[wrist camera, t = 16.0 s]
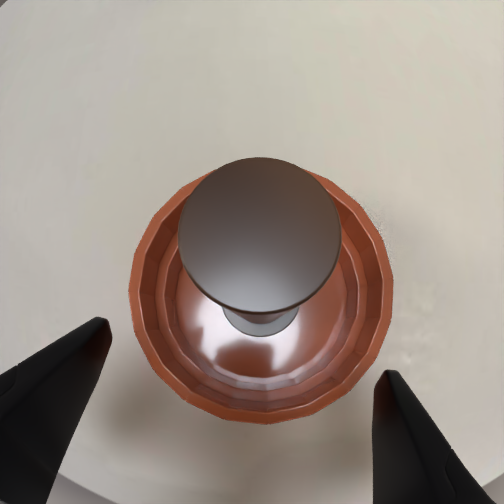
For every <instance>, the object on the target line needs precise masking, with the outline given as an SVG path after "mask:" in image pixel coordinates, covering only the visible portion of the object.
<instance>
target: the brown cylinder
mask: <svg viewBox="0 0 504 504" xmlns="http://www.w3.org/2000/svg"><path fill="white" fill-rule="evenodd" d="M341 243H342V229H341V223H340V218H339V214H338V211H337V208H336V206H335V204H334V202H333V200H332V198H331V197H330V195H329V194H328V192H327V191H326V189H325V188H324V187H323V186H322V185H321V183H320V182H319V181H318V180H317V179H315V178H314V177H313V176H312V175H311V174H309V173H308V172H306V171H305V170H303V169H302V168H300V167H298V166H296V165H294V164H291V163H289V162H286V161H282V160H278V159H273V158H263V157H255V158H246V159H241V160H237V161H234V162H231V163H228V164H226V165H224V166H222V167H220V168H218V169H216V170H215V171H213V172H212V173H210V174H209V175H208V176H206V177H205V178H204V179H203V180H202V181H201V182H200V183H199V184H198V185H197V186H196V187H195V189H194V190H193V191H192V193H191V194H190V196H189V197H188V199H187V201H186V203H185V205H184V207H183V210H182V213H181V216H180V220H179V225H178V248H179V253H180V257H181V260H182V263H183V266H184V268H185V270H186V272H187V274H188V276H189V277H190V279H191V280H192V282H193V283H194V285H195V286H196V287H197V288H198V289H199V290H200V291H201V292H202V293H203V294H204V295H205V296H206V297H208V298H209V299H210V300H212V301H213V302H215V303H216V304H218V305H220V306H221V307H222V310H223V313H224V315H225V317H226V318H227V320H228V321H229V323H230V324H231V325H232V326H233V327H234V328H236V329H237V330H238V331H240V332H242V333H244V334H246V335H250V336H254V337H267V336H271V335H275V334H277V333H279V332H281V331H283V330H284V329H285V328H287V327H288V326H289V325H290V324H291V323H292V321H293V320H294V318H295V317H296V315H297V313H298V310H299V307H300V305H301V304H303V303H305V302H306V301H308V300H309V299H310V298H312V297H313V296H314V295H316V294H317V293H318V292H319V291H320V289H321V288H322V287H323V286H324V285H325V284H326V282H327V281H328V280H329V278H330V277H331V275H332V273H333V271H334V269H335V267H336V264H337V262H338V259H339V255H340V251H341Z"/></svg>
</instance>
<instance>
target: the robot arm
mask: <svg viewBox="0 0 504 504" xmlns="http://www.w3.org/2000/svg"><path fill="white" fill-rule="evenodd" d="M111 343H112V333H111V329H110V325H109V321H108V320H107V319H105V318H101V317H95V318H93V319H91V320H90V321H88V322H86V323H85V324H83V325H81V326H80V327H78V328H76V329H75V330H73V331H71V332H70V333H68V334H66V335H65V336H63V337H61V338H60V339H58V340H56V341H55V342H53V343H52V344H50V345H48V346H47V347H45V348H43V349H42V350H40V351H38V352H37V353H35V354H34V355H32V356H30V357H29V358H27V359H26V360H24V361H22V362H21V363H19V364H18V365H17V366H14V367H13V368H11V369H9V370H8V371H6V372H4V373H3V374H1V375H0V504H46V502H47V499H48V497H49V494H50V491H51V489H52V486H53V483H54V481H55V478H56V475H57V473H58V470H59V468H60V465H61V463H62V460H63V458H64V456H65V453H66V451H67V448H68V446H69V444H70V441H71V439H72V437H73V434H74V432H75V430H76V427H77V425H78V423H79V421H80V418H81V416H82V414H83V412H84V410H85V407H86V405H87V403H88V401H89V399H90V397H91V394H92V392H93V390H94V388H95V386H96V384H97V382H98V379H99V377H100V374H101V371H102V368H103V365H104V363H105V360H106V357H107V354H108V352H109V349H110V346H111ZM372 451H373V504H496V503H495V502H494V501H493V500H492V499H491V498H490V497H489V496H488V495H487V494H486V492H485V491H484V490H483V489H482V487H481V486H480V485H479V484H478V483H477V481H476V480H475V479H474V478H473V477H472V475H471V474H470V473H469V471H468V470H467V469H466V468H465V466H464V465H463V463H462V462H461V461H460V459H459V458H458V456H457V455H456V453H455V452H454V450H453V449H451V446H450V445H449V443H448V442H447V440H446V439H445V437H444V436H443V434H442V433H441V431H440V430H439V428H438V427H437V426H436V424H435V423H434V421H433V420H432V418H431V417H430V416H429V414H428V413H427V411H426V410H425V408H424V407H423V406H422V404H421V403H420V401H419V400H418V399H417V397H416V396H415V394H414V393H413V392H412V390H411V389H410V387H409V386H408V385H407V383H406V382H405V380H404V379H403V378H402V376H401V375H400V374H399V372H398V371H396V370H385V371H384V372H383V373H382V375H381V377H380V378H379V380H378V381H377V383H376V385H375V388H374V402H373V420H372Z"/></svg>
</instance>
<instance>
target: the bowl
mask: <svg viewBox="0 0 504 504" xmlns="http://www.w3.org/2000/svg"><path fill="white" fill-rule="evenodd" d="M303 170H305V169H303ZM213 171H215V170H213ZM213 171H211V172H209V173H208V174H206V175H204V176H202V177H200V178H198V179H196V180H194V181H193V182H191V183H189V184H187V185H185V186H184V187H182V189H180V190H179V191H178V192H177V193H176V194H175V195H174V196H173V197H172V198H171V199H170V200H169V201H168V202H167V203H166V204H165V205H164V206H163V207H162V208H161V209H160V210H159V211H158V212H157V213H156V214H155V215H154V217H153V218H152V220H151V221H150V223H149V225H148V227H147V229H146V231H145V233H144V235H143V237H142V239H141V241H140V243H139V245H138V247H137V249H136V251H135V253H134V259H133V265H132V271H131V277H130V283H129V290H128V292H129V293H128V294H129V301H130V308H131V315H132V321H133V327H134V332H135V335H136V337H137V339H138V341H139V343H140V345H141V347H142V349H143V351H144V353H145V355H146V357H147V359H148V361H149V363H150V365H151V367H152V368H153V370H155V373H156V374H157V375H158V376H159V377H160V378H161V379H162V380H163V381H164V382H165V383H166V384H167V385H168V386H169V387H170V388H172V389H173V390H174V391H175V392H176V393H177V394H178V395H179V396H180V397H181V398H182V399H183V400H185V401H186V402H188V403H190V404H192V405H194V406H196V407H198V408H200V409H202V410H204V411H206V412H208V413H210V414H213V415H215V416H217V417H219V418H221V419H225V420H229V421H237V422H246V423H255V424H266V425H267V424H274V423H279V422H284V421H288V420H293V419H297V418H301V417H306V416H310V415H312V414H314V413H316V412H318V411H319V410H321V409H323V408H324V407H326V406H328V405H329V404H331V403H333V402H334V401H336V400H337V399H339V398H341V397H342V396H344V395H345V394H347V393H348V392H349V391H350V390H351V389H352V388H353V387H354V386H355V384H356V383H357V382H358V381H359V380H360V378H361V377H362V376H363V375H364V374H365V372H366V371H367V370H368V369H369V368H370V366H371V365H372V364H373V363H374V361H375V360H376V358H377V356H378V354H379V351H380V349H381V346H382V344H383V341H384V338H385V336H386V333H387V331H388V328H389V325H390V322H391V318H392V302H393V279H392V278H393V275H392V271H391V267H390V263H389V260H388V256H387V252H386V249H385V245H384V242H383V240H382V237H381V236H380V234H379V232H378V231H377V229H376V228H375V226H374V225H373V223H372V222H371V220H370V219H369V217H368V215H367V214H366V212H365V211H364V209H363V208H362V207H361V206H360V204H358V203H357V202H356V201H355V200H354V199H353V198H351V197H350V196H349V195H348V194H346V193H345V192H344V191H343V190H342V189H340V188H339V187H338V186H337V185H335V184H334V183H333V182H332V181H330V180H329V179H326V178H324V177H322V176H319V175H317V174H314V173H312V172H309V171H307V170H305V171H306V172H308V173H309V174H311V175H312V176H313V177H314V178H315V179H317V180H318V181H319V182H320V183H321V185H322V186H323V187H324V188H325V189H326V191H327V192H328V194H329V195H330V197H331V198H332V200H333V202H334V204H335V206H336V208H337V211H338V214H339V218H340V223H341V229H342V243H341V251H340V255H339V259H338V262H337V264H336V267H335V269H334V271H333V273H332V275H331V277H330V278H329V280H328V281H327V282H326V284H325V285H324V286H323V287H322V288H321V289H320V291H319V292H318V293H317V294H316V295H314V296H313V297H312V298H310V299H309V300H308V301H306V302H305V303H303V304H301V305H300V307H299V310H298V313H297V315H296V317H295V318H294V320H293V321H292V323H291V324H290V325H289V326H288V327H287V328H285V329H284V330H283V331H281V332H279V333H277V334H275V335H271V336H267V337H254V336H250V335H246V334H244V333H242V332H240V331H238V330H237V329H236V328H234V327H233V326H232V325H231V324H230V323H229V321H228V320H227V318H226V317H225V315H224V313H223V310H222V307H221V306H220V305H218V304H216V303H215V302H213V301H212V300H210V299H209V298H208V297H206V296H205V295H204V294H203V293H202V292H201V291H200V290H199V289H198V288H197V287H196V286H195V285H194V283H193V282H192V280H191V279H190V277H189V276H188V274H187V272H186V270H185V268H184V266H183V263H182V260H181V257H180V253H179V248H178V225H179V220H180V216H181V213H182V210H183V207H184V205H185V203H186V201H187V199H188V197H189V196H190V194H191V193H192V191H193V190H194V189H195V187H196V186H197V185H198V184H199V183H200V182H201V181H202V180H203V179H204V178H205V177H206V176H208V175H209V174H210V173H212V172H213Z"/></svg>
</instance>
